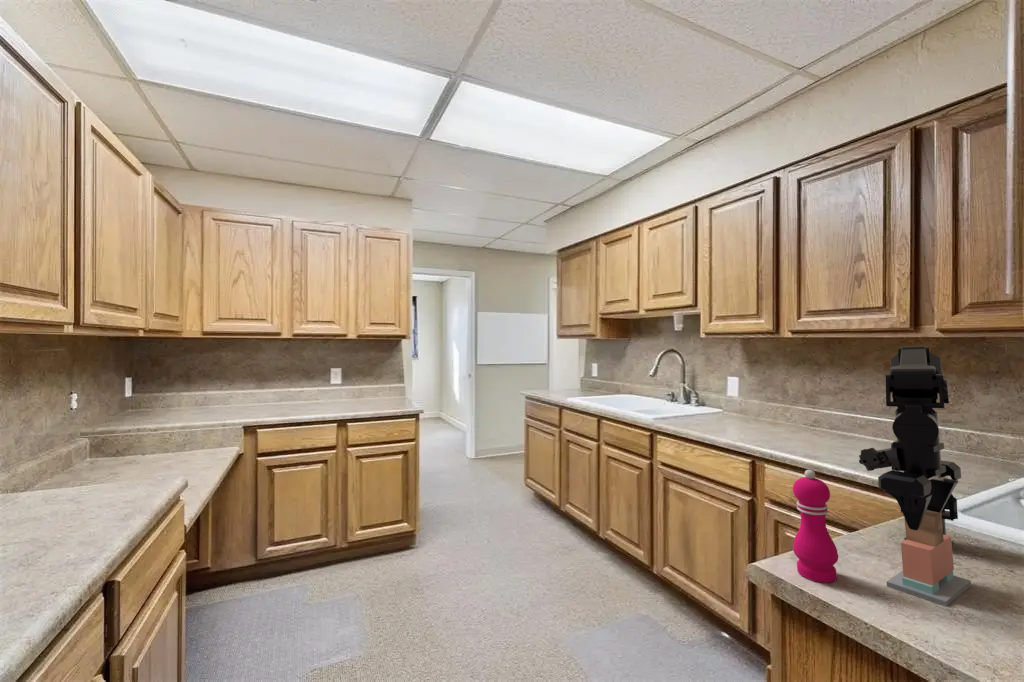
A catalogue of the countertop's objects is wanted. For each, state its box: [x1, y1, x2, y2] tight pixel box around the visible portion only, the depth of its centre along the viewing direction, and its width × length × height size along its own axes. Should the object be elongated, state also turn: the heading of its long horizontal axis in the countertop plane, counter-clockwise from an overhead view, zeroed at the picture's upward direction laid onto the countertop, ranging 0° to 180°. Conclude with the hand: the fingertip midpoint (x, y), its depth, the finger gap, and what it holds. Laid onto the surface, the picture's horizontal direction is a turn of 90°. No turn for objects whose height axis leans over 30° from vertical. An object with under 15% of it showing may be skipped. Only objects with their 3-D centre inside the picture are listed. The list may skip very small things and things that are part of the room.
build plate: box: [886, 570, 972, 607], centre depth 80 cm, size 12×8×2 cm, turn 120°
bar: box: [900, 534, 955, 586], centre depth 80 cm, size 10×4×6 cm, turn 120°
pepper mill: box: [792, 469, 839, 584], centre depth 85 cm, size 7×7×20 cm
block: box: [904, 510, 944, 547], centre depth 80 cm, size 4×4×5 cm
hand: (924, 523), depth 80 cm, fingers open, 9 cm apart
